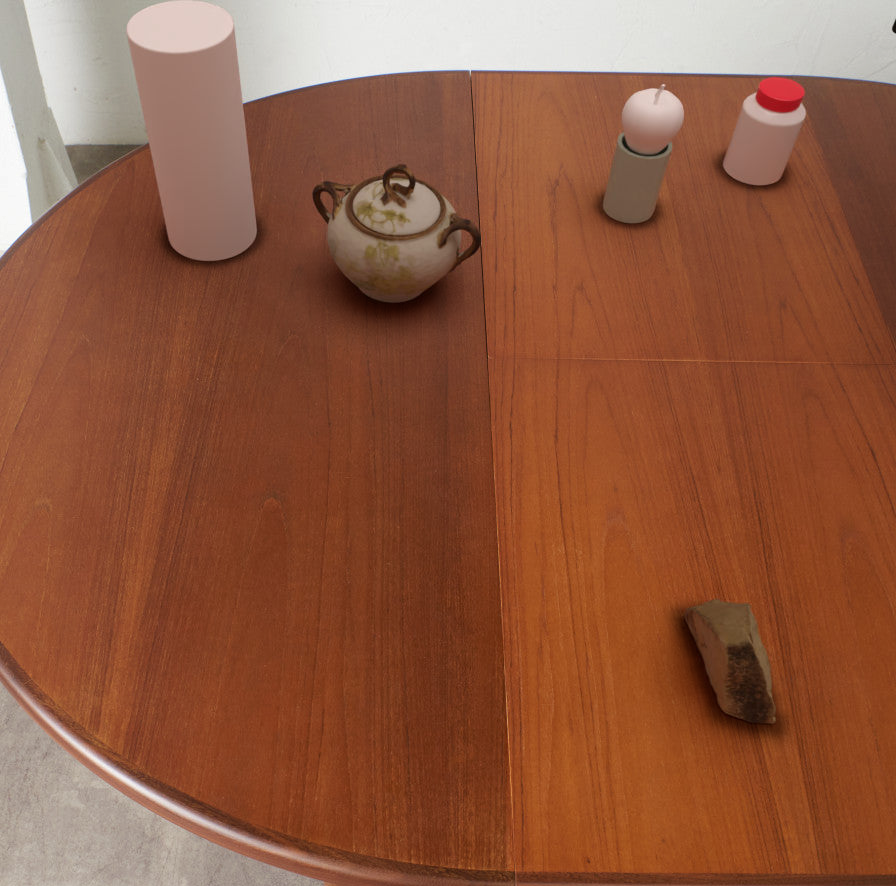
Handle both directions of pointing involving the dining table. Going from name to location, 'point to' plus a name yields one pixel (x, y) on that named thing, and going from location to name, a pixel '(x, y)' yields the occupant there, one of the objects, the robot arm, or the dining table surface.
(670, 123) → the apple
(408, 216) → the sugar bowl
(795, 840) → the dining table surface
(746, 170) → the pill bottle
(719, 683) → the rock
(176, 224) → the tall pillar cylinder
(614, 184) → the cup
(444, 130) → the dining table surface
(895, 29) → the robot arm
